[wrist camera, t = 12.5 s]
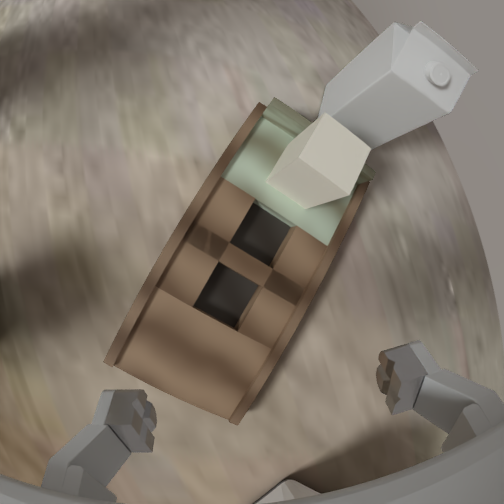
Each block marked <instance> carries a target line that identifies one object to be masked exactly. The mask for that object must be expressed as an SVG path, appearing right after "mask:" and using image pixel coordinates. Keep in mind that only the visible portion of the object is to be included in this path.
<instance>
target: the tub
mask: <svg viewBox="0 0 504 504" xmlns="http://www.w3.org/2000/svg"><path fill="white" fill-rule="evenodd" d="M318 494H320V493H318V492H316V491H314V490H312V489H310V488H308V487H306V486H305V485H303V484H301V483H299V482H297V481H295V480H292V479H286V480H283V481H282V482H280V483H279V484H278V485H277V486H275V487H274V488H273V489H272V490H270V491H269V492H268V493H267V494H265V495H264V496H263V497H262V498H260V499H259V500H258V501H256V502H255V503H254V504H264V503H272V502H279V501H286V500H292V499H298V498H303V497H308V496H313V495H318Z"/></svg>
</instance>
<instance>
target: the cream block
mask: <svg viewBox="0 0 504 504" xmlns="http://www.w3.org/2000/svg"><path fill="white" fill-rule="evenodd" d="M370 150H371V148H370V147H369V146H368V145H367V144H365V143H364V142H363V141H362V140H360V139H359V138H358V137H357V136H356V135H354V134H353V133H352V132H350V131H349V130H348V129H347V128H345V127H344V126H343V125H341V124H340V123H339V122H338V121H336V120H335V119H334V118H332V117H331V116H330V115H328V114H327V113H326V112H325V113H323V114H322V115H321V116H320V117H319V118H318V119H316V120H315V121H314V122H313V123H312V124H311V125H309V126H308V127H307V128H306V129H305V130H304V131H302V132H301V133H300V134H299V135H298V136H297V137H296V138H294V139H293V140H292V141H291V142H290V143H289V144H288V145H287V147H286V148H285V150H284V152H283V153H282V155H281V157H280V158H279V160H278V161H277V163H276V165H275V166H274V168H273V170H272V171H271V173H270V175H269V176H268V178H267V180H266V181H265V182H266V183H267V184H269V185H270V186H272V187H273V188H275V189H276V190H278V191H279V192H281V193H282V194H284V195H285V196H287V197H288V198H290V199H291V200H293V201H294V202H296V203H297V204H299V205H300V206H302V207H303V208H305V209H308V208H311V207H314V206H317V205H320V204H324V203H327V202H330V201H333V200H336V199H339V198H342V197H346V196H349V195H350V193H351V191H352V189H353V187H354V185H355V183H356V181H357V179H358V176H359V174H360V172H361V170H362V168H363V166H364V163H365V161H366V159H367V157H368V155H369V152H370Z"/></svg>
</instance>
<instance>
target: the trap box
mask: <svg viewBox="0 0 504 504" xmlns="http://www.w3.org/2000/svg"><path fill="white" fill-rule="evenodd" d="M311 124H312V122H310V121H309V120H308V119H306V118H305V117H303V116H302V115H300V114H299V113H297V112H296V111H295V110H293V109H292V108H290V107H289V106H287V105H286V104H284V103H283V102H281V101H280V100H278V99H277V98H275V97H274V98H273V100H272V101H271V103H270V104H269V105H268V107H266V106H265V105H263V104H261V103H260V102H259V103H258V104H257V106H256V107H255V108H254V110H253V111H252V113H251V114H250V115H249V117H248V118H247V120H246V121H245V122H244V124H243V125H242V127H241V128H240V130H239V131H238V132H237V134H236V135H235V137H234V138H233V140H232V141H231V143H230V144H229V146H228V147H227V149H226V150H225V151H224V153H223V154H222V156H221V157H220V159H219V160H218V162H217V163H216V165H215V167H214V168H213V170H212V171H211V173H210V174H209V176H208V177H207V179H206V180H205V182H204V183H203V185H202V187H201V188H200V190H199V191H198V193H197V194H196V196H195V198H194V199H193V201H192V202H191V204H190V206H189V207H188V209H187V210H186V212H185V214H184V215H183V217H182V219H181V220H180V222H179V224H178V225H177V227H176V229H175V230H174V232H173V234H172V235H171V237H170V239H169V240H168V242H167V244H166V245H165V247H164V249H163V251H162V252H161V254H160V256H159V257H158V259H157V261H156V263H155V264H154V266H153V268H152V270H151V272H150V273H149V275H148V277H147V279H146V281H145V282H144V284H143V286H142V288H141V290H140V291H139V293H138V295H137V297H136V299H135V301H134V303H133V304H132V306H131V308H130V310H129V312H128V314H127V316H126V318H125V320H124V322H123V323H122V325H121V327H120V329H119V331H118V333H117V335H116V337H115V339H114V341H113V343H112V345H111V347H110V349H109V351H108V353H107V355H106V357H105V359H104V361H103V362H104V363H106V364H108V365H109V366H111V367H113V365H114V366H116V367H117V368H119V369H121V370H123V371H125V372H127V373H128V374H130V375H132V376H134V377H136V378H138V379H140V380H142V381H143V382H145V383H147V384H149V385H151V386H153V387H155V388H157V389H159V390H161V391H164V392H166V393H168V394H170V395H172V396H174V397H176V398H178V399H181V400H183V401H185V402H187V403H189V404H192V405H194V406H196V407H199V408H201V409H203V410H206V411H208V412H210V413H213V414H215V415H218V416H220V417H223V418H225V419H228V420H229V422H230V423H233V424H235V425H238V424H239V423H240V421H241V420H242V418H243V417H244V415H245V414H246V412H247V410H248V409H249V407H250V406H251V404H252V402H253V401H254V399H255V398H256V396H257V394H258V393H259V391H260V390H261V388H262V386H263V385H264V383H265V381H266V380H267V378H268V376H269V375H270V373H271V371H272V370H273V368H274V366H275V365H276V363H277V361H278V360H279V358H280V356H281V355H282V353H283V351H284V349H285V348H286V346H287V344H288V342H289V341H290V339H291V337H292V335H293V334H294V332H295V330H296V328H297V326H298V325H299V323H300V321H301V319H302V317H303V316H304V314H305V312H306V310H307V308H308V306H309V305H310V303H311V301H312V299H313V297H314V295H315V293H316V292H317V290H318V288H319V286H320V284H321V282H322V280H323V278H324V276H325V274H326V272H327V270H328V269H329V267H330V265H331V263H332V261H333V259H334V257H335V255H336V253H337V251H338V249H339V247H340V245H341V243H342V241H343V239H344V236H345V234H346V232H347V230H348V228H349V226H350V224H351V222H352V220H353V218H354V216H355V213H356V211H357V209H358V207H359V205H360V203H361V201H362V198H363V196H364V194H365V192H366V190H367V187H368V185H369V183H370V182H369V181H370V180H373V178H374V175H375V173H376V172H375V171H374V170H373V169H371V168H370V167H369V166H368V165H367V164H365V163H364V166H363V168H362V170H361V172H360V174H359V176H358V179H357V181H356V183H355V185H354V187H353V189H352V191H351V193H350V195H349V196H346V197H342V198H339V199H336V200H333V201H330V202H327V203H324V204H320V205H317V206H314V207H311V208H308V209H305V208H303V207H302V206H300V205H299V204H297V203H296V202H294V201H293V200H291V199H290V198H288V197H287V196H285V195H284V194H282V193H281V192H279V191H278V190H276V189H275V188H273V187H272V186H270V185H269V184H267V183H266V182H265V181H266V180H267V178H268V176H269V175H270V173H271V171H272V170H273V168H274V166H275V165H276V163H277V161H278V160H279V158H280V157H281V155H282V153H283V152H284V150H285V148H286V147H287V145H288V144H289V143H290V142H291V141H292V140H293V139H294V138H296V137H297V136H298V135H299V134H300V133H301V132H302V131H304V130H305V129H306V128H307V127H308V126H309V125H311Z"/></svg>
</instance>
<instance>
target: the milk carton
mask: <svg viewBox="0 0 504 504" xmlns="http://www.w3.org/2000/svg"><path fill="white" fill-rule="evenodd" d="M477 72H478V69H477V68H476V67H475V66H474V65H473V64H472V63H471V62H470V61H469V60H467V59H466V58H465V57H464V56H463V55H462V54H461V53H460V52H458V50H456V49H455V48H454V47H453V46H452V45H451V44H449V43H448V42H447V41H446V40H445V39H444V38H442V37H441V36H440V35H439V34H437V33H436V32H435V31H434V30H432V29H431V28H430V27H428V26H427V25H426V24H424V23H423V22H422V21H420V22H419V23H417V24H416V25H415V26H414V27H412V26H408V25H404V24H401V23H397V22H394V23H393V24H392V25H390V26H389V27H388V28H387V29H386V30H385V31H384V32H382V33H381V34H380V35H379V36H378V37H377V38H376V39H375V40H374V41H372V42H371V43H370V44H369V45H368V46H367V47H366V48H365V49H364V50H363V51H362V52H360V53H359V54H358V55H357V56H356V57H355V58H354V59H353V60H352V61H351V62H350V63H349V64H348V65H347V66H346V67H344V68H343V69H342V70H341V71H340V72H339V73H338V74H337V75H336V76H335V77H334V78H333V79H332V80H331V81H330V82H329V83H328V84H327V85H326V88H325V92H324V96H323V100H322V104H321V108H320V111H319V115H318V118H319V117H320V116H321V115H322V114H323V113H325V112H326V113H327V114H328V115H330V116H331V117H332V118H334V119H335V120H336V121H338V122H339V123H340V124H341V125H343V126H344V127H345V128H347V129H348V130H349V131H350V132H352V133H353V134H354V135H356V136H357V137H358V138H359V139H360V140H362V141H363V142H364V143H365V144H367V145H368V146H369V147H370V148H371V150H372V149H374V148H376V147H378V146H380V145H382V144H384V143H387V142H389V141H391V140H393V139H395V138H397V137H399V136H401V135H403V134H406V133H408V132H410V131H412V130H414V129H416V128H419V127H421V126H423V125H425V124H427V123H429V122H432V121H434V120H436V119H438V118H440V117H443V116H445V115H447V114H449V113H451V111H452V110H453V108H454V106H455V104H456V102H457V100H458V99H459V97H460V95H461V93H462V91H463V90H464V88H465V86H466V84H467V82H468V80H469V78H470V76H471V75H473V74H475V73H477Z"/></svg>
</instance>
